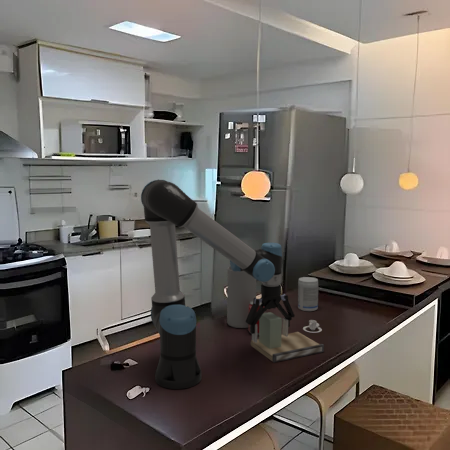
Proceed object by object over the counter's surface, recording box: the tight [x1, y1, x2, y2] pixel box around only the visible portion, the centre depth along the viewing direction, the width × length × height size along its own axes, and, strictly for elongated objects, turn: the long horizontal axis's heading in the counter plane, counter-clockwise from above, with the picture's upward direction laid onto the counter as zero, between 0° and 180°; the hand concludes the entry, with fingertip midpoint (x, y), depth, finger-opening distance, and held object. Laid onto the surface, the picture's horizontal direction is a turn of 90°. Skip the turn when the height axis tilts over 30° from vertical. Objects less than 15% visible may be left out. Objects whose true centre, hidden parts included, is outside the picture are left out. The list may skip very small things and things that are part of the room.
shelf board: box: [250, 331, 325, 363], centre depth 180 cm, size 22×17×3 cm
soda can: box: [248, 301, 267, 336], centre depth 195 cm, size 7×7×13 cm
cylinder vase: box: [226, 266, 257, 329], centre depth 205 cm, size 12×12×25 cm
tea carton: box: [258, 311, 283, 349], centre depth 178 cm, size 8×5×11 cm, turn 26°
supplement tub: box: [297, 276, 319, 312], centre depth 227 cm, size 10×10×15 cm
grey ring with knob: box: [302, 319, 323, 334], centre depth 200 cm, size 9×8×4 cm
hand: (270, 338), depth 179 cm, fingers open, 13 cm apart
